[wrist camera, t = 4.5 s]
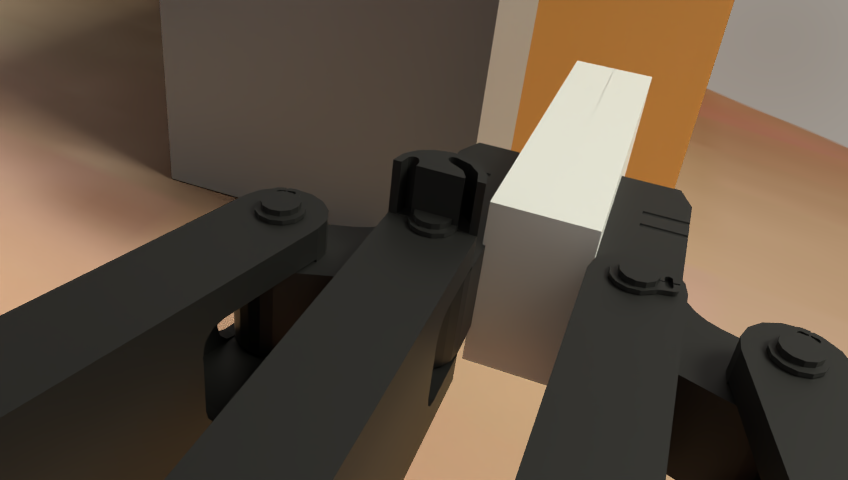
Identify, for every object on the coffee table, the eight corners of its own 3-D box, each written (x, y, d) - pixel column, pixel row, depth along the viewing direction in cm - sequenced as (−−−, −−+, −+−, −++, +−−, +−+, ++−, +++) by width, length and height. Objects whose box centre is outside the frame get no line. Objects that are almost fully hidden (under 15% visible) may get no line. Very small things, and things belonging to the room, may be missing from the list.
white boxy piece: (459, 248, 24) (539, -249, 17) (542, 114, 34) (614, -237, 27) (638, 299, 23) (803, -216, 16) (671, 145, 33) (781, -215, 26)
